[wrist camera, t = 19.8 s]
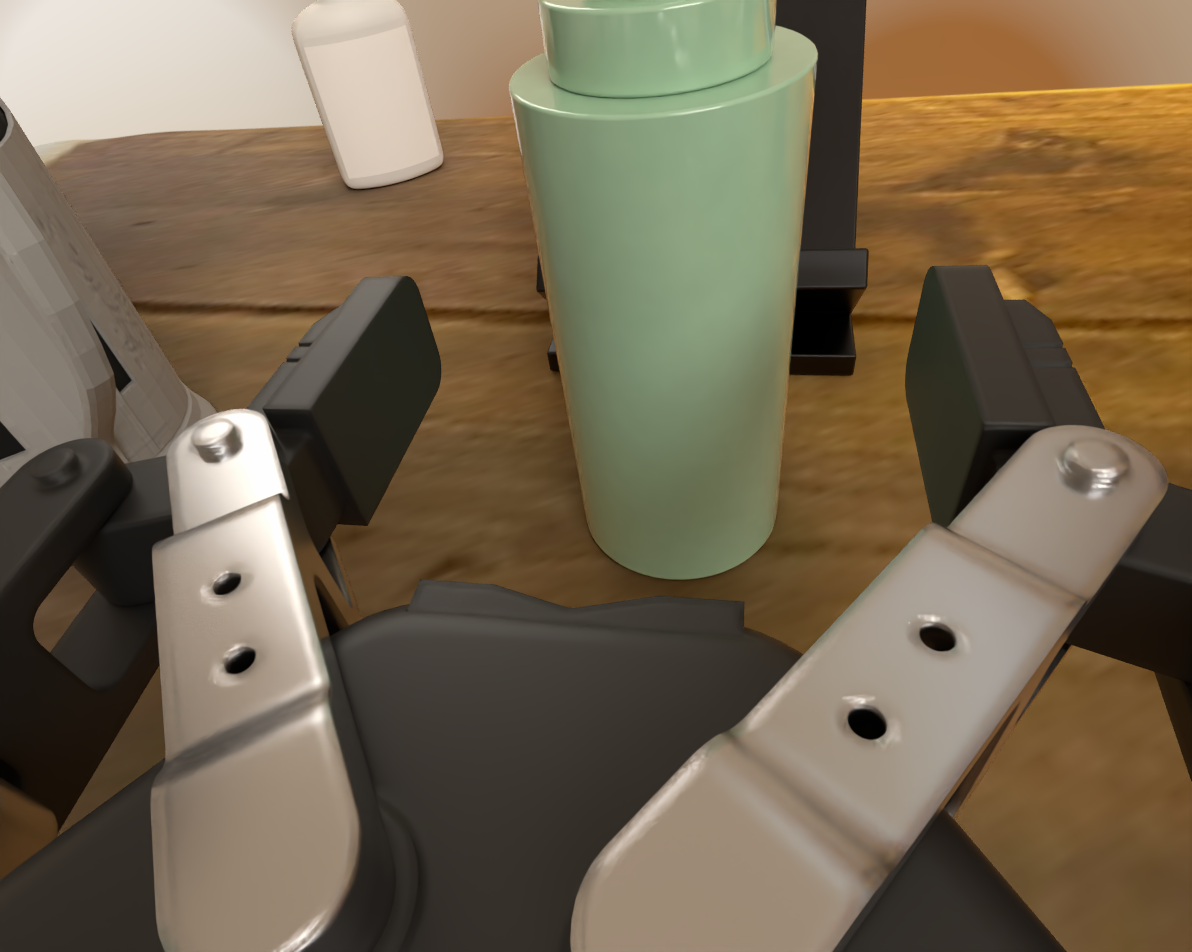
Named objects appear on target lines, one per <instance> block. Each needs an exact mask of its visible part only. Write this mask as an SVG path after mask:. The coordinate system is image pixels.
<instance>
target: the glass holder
mask: <svg viewBox="0 0 1192 952" xmlns="http://www.w3.org/2000/svg"><path fill="white" fill-rule="evenodd" d="M214 414H217V411H216V410H215V409H214V408H213V406H212V405H211V404H210V403H209V402H208V401H207V400H205V399H204V398H202V397H201V396H199V395H198V394H196V393H195V392H193V391H192V390H190V389H188V388H187V387H186V385H185V384H184V383H183V382H182V381H181V380H180V379H179V377H178V375H177V374H176V372H175V371H174V369H173V368H172V366H171V364H170V363H169V361H168V360H167V358H166V356H165V355H164V353H163V352H162V350H161V349H160V347H159V345H158V344H157V342H156V341H155V339H154V337H153V336H152V334H151V333H150V331H149V330H148V328H147V326H146V325H145V323H144V322H143V320H142V318H141V317H140V315H139V314H138V312H137V311H136V309H135V307H134V306H133V304H132V303H131V301H130V299H129V298H128V296H127V295H126V293H125V292H124V290H123V288H122V287H121V285H120V284H119V282H118V281H117V279H116V277H115V276H114V274H113V273H112V271H111V269H110V268H109V266H108V265H107V263H106V262H105V260H104V258H103V257H102V255H101V254H100V252H99V250H98V249H97V247H96V246H95V244H94V243H93V241H92V239H91V238H90V236H89V235H88V233H87V231H86V230H85V228H84V227H83V225H82V224H81V222H80V220H79V219H78V217H77V216H76V214H75V212H74V211H73V209H72V208H71V206H70V205H69V203H68V201H67V200H66V198H65V197H64V195H63V194H62V192H61V190H60V189H59V187H58V186H57V184H56V182H55V181H54V179H53V178H52V176H51V175H50V173H49V171H48V170H47V168H46V167H45V165H44V163H43V162H42V160H41V159H40V157H39V156H38V154H37V152H36V151H35V149H34V148H33V146H32V145H31V143H30V142H29V140H28V138H27V137H26V135H25V134H24V132H23V130H22V129H21V127H20V125H19V124H18V122H17V121H16V120H15V118H14V116H13V114H12V113H11V111H10V110H9V108H8V107H7V106H6V105H5V103H4V102H3V101H2V99H1V98H0V488H1V487H2V486H3V485H4V484H5V483H6V482H7V481H8V480H9V478H10V477H11V476H12V475H13V474H14V473H15V472H16V471H17V470H18V469H20V468H21V467H22V466H23V465H24V464H25V463H27V462H28V461H29V460H31V459H32V458H34V457H35V456H37V455H38V454H40V453H42V452H44V451H46V450H48V449H50V448H52V447H54V446H57V445H59V444H62V443H65V442H69V441H72V440H77V439H83V438H97V439H102V440H104V441H106V442H108V443H109V444H110V445H111V447H112V448H113V449H114V451H115V452H116V453H117V454H118V456H119V457H120V458H121V460H122V461H123V462H124V463H125V464H126V463H131V462H136V461H141V460H146V459H151V458H156V457H161V456H166V455H167V452H168V449H169V447H170V445H171V444H172V442H173V441H174V440H175V439H176V438H177V437H178V436H179V435H180V434H181V433H182V432H183V431H184V430H186V429H187V428H188V427H190V426H191V425H193V424H195V423H196V422H198V421H200V420H202V419H204V418H206V417H209V416H211V415H214Z"/></svg>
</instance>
